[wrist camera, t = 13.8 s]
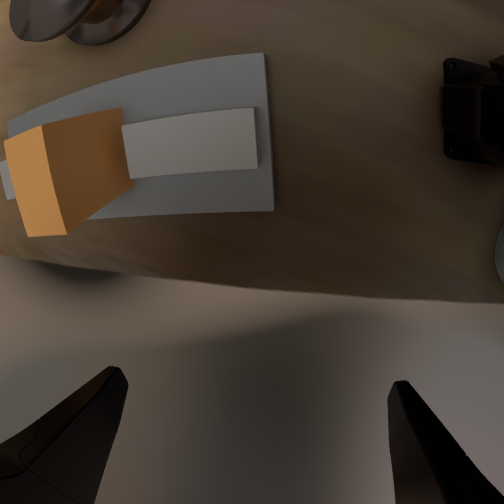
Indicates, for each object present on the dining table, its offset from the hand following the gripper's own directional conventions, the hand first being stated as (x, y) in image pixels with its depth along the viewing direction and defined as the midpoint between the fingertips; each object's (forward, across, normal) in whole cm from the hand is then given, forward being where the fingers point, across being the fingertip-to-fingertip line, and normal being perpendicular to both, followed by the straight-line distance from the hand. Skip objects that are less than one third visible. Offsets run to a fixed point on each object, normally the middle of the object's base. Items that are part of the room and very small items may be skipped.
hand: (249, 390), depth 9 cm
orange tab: (+11, +10, -6) cm, 16 cm away
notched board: (+12, +10, -6) cm, 17 cm away
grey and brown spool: (+12, +10, -17) cm, 23 cm away
